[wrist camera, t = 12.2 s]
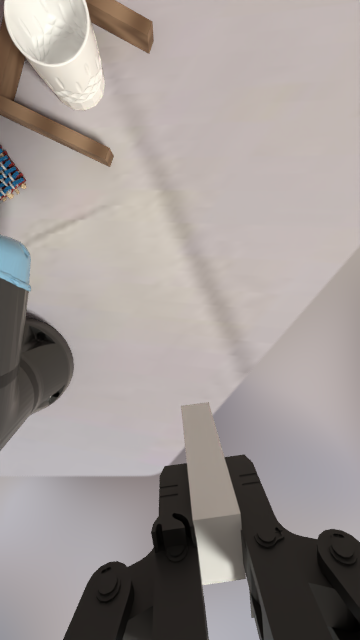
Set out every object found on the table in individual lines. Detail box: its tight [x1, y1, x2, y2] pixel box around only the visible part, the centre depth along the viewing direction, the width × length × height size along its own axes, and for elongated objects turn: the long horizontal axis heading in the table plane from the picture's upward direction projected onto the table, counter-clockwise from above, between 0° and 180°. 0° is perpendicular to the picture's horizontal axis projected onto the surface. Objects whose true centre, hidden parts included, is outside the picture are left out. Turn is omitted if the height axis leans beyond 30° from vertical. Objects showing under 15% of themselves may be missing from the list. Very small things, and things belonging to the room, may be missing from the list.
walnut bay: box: [0, 0, 153, 167], centre depth 34 cm, size 16×16×3 cm
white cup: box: [4, 0, 105, 111], centre depth 31 cm, size 8×8×10 cm
